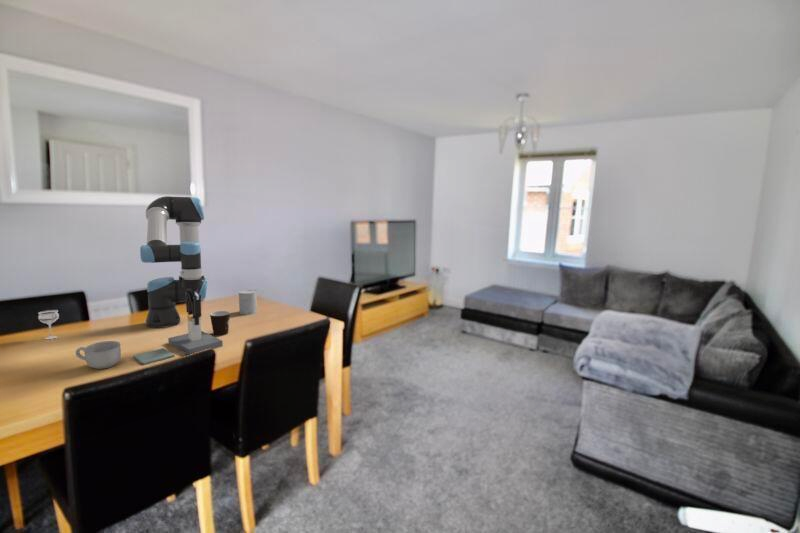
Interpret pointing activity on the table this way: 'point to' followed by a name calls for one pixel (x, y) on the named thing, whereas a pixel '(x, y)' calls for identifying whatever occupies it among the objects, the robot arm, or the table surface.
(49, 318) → the wineglass
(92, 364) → the teacup
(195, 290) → the robot arm
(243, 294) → the grey canister
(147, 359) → the pad
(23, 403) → the table surface
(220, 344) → the grey flat block
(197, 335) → the white tall block
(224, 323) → the coffee mug
